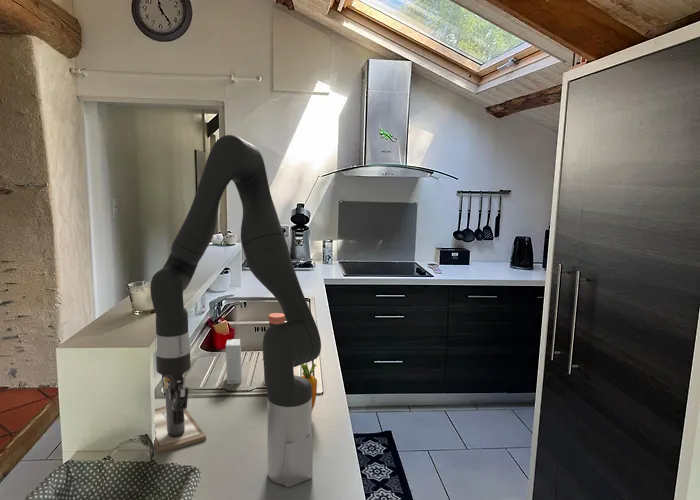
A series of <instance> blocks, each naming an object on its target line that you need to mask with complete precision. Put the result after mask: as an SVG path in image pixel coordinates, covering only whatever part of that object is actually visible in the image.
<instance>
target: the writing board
mask: <svg viewBox="0 0 700 500" xmlns="http://www.w3.org/2000/svg"><path fill="white" fill-rule="evenodd" d="M154 409H155V415H154V416H155V417H154V424H155V429H154V432H155V440H154V446H153V448H154V447H155V448H154V450H155V451H156V453H157V455H161V454H163V453H168V452H170V451H173V450H177V449H179V448H183V447H186V446H187V447H188V446H190V445H193V444H194V445H195V444H197V443H199V442H203V441H206V440H207V436H206V435H207V434H205V433H204V431H203V430H202V428H201V427H200V426H199V425H198V424H197V422H196V421H195V419H194V418H193V417H192V416H191V414H190V412H188V410H187V408H186V409H184V419H185V429H184V434H183V435H181V436H178V437H170V436H168V432H167V418H166V405H165V406H161V407H158V408H154Z"/></svg>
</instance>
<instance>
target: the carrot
mask: <svg viewBox="0 0 700 500" xmlns="http://www.w3.org/2000/svg"><path fill="white" fill-rule="evenodd" d="M300 366H301V369H302V372H301V374H302V375H301V376H300V377H303V378H305V379H307V380H308V381H309V382H310V383H311V385H312V411H313V409H314V407H315V403H316V399H317V393H318V390H317V389H318V380H317V378H316V376H314V375H313V374H312V373H314V372H315V368H316V367H317V364H316V363H313V364H312V366H311V368H310V370H309V367H308V365H307V363H305V364H302V365H300Z"/></svg>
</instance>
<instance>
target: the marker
mask: <svg viewBox="0 0 700 500" xmlns="http://www.w3.org/2000/svg"><path fill="white" fill-rule="evenodd" d="M164 381H165V394H166V396H165V406H166V418H167V432H168V436H170V437H178V436H181V435H183V434H184V429H185V419H184V421H183V423H181V424H177V425H175V424H174V423H173V409H172V401H171V400H170V399H169V392H168V388H167V381H169V382H172V381H170V379H169V378H168V377H167V376H166V378H164ZM172 396H176V395H175V394H172ZM179 404H180V403H179ZM183 418H184V409H183Z"/></svg>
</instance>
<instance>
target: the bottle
mask: <svg viewBox="0 0 700 500" xmlns="http://www.w3.org/2000/svg"><path fill="white" fill-rule="evenodd" d="M285 322H286V317H285V315H284V313H282V312H272V313H270V314H268V324H269V327H271V326H273V325H277V324H281V323H285Z"/></svg>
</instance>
